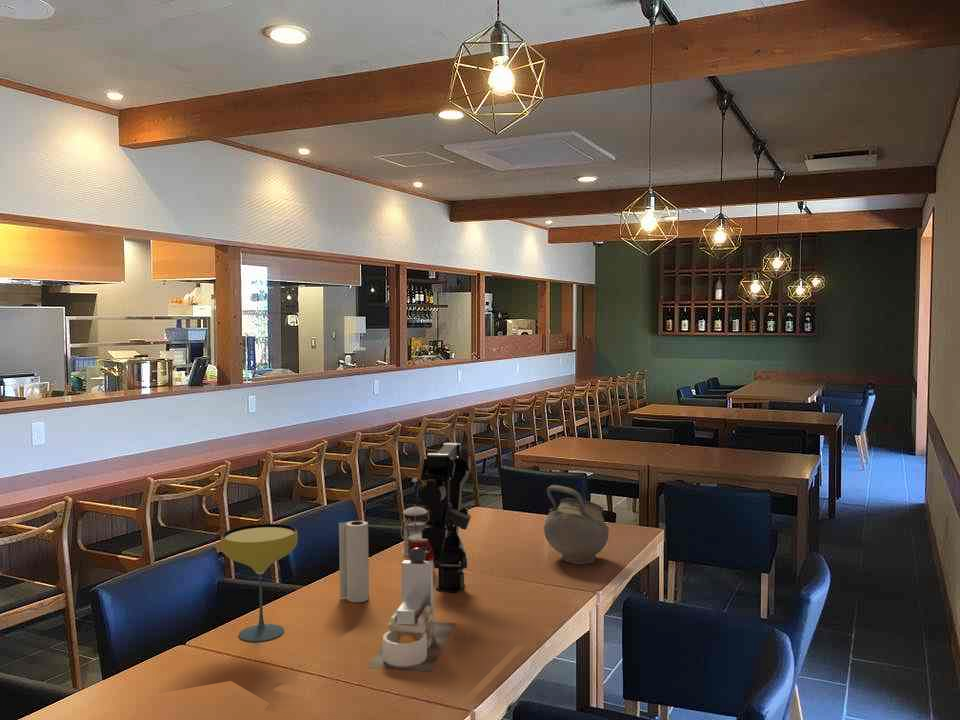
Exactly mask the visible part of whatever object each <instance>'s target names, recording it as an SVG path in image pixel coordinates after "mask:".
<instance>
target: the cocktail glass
mask: <svg viewBox="0 0 960 720" xmlns="http://www.w3.org/2000/svg"><path fill="white" fill-rule="evenodd" d="M298 540H299V539H298V531H297V528H295V527H294V526H292V525H287V524H282V523H259V524H258V523H257V524H249V525H244V526H238V527H234V528H231V529H228V530H227V531H225V532H223V533H222V534H221V538H220V548H221V551H222V553H223V554H224V556H226V557H227V558H229V559H230V560H232V561H234V562H237V563H239V564H243V565H246V566H248V567H250V568H251V569H252V570H253V571H254V572H255V574H257V575H258V582H259V583H258V586H259V589H258V591H259V593H258V594H259V597H258V598H259V615H258V616H259V618H258V624H256V625H251V626H248V627H245V628H244V629H242V630H240V631H239V633H238V638H239V639H241V640H242V641H244V642H250V643H261V641H263V642H268V641H271V640H272V641H273V640H274V639H277V638H279V637H281V636H282V635H283V634H284V633H285V628H284V627H283V626H282V625H278V624H273V623H272V624H271V623H265V620H264V612H263V611H264V610H263V609H264V608H263V606H264V605H263V580H262V579H263V574H264V573H266V571H267V569H268V568H269V567H270V566H271V565H272V564H274V563H275V562H277V561H280V560H281V559H283V558H285V557H287V556H288V555H289V554H291V553H292V552H293V550H295V548H296V547H297V544H298Z"/></svg>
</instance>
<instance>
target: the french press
mask: <svg viewBox="0 0 960 720" xmlns="http://www.w3.org/2000/svg"><path fill="white" fill-rule="evenodd" d="M411 482H412V483H414V485H416V483H417V482H418V478H417V477H413V478H412V479H411ZM402 514H403V515H405V516H411V517H412V516H413V517H414V520H413V521H412V520H411V518H407V517H405V518H403V520H402V522H401V527H400V537H401V538H402V539H403V549H402V551H401V552H400V554H401V555H402V556H404V555H405V557H408V537H409V536H410V535H413V534H420V533H422V530H423V529H424V528H425V527H426V526H427V522H426V521H421V520H418V521H417V520H416V517H417V516H422V515H425V514H428V509H426V508H424V507H421V506H416V505H414V506H411V507H408V508H406V509H405V510H403V511H402ZM407 519H408V520H407ZM404 521H405V523H404ZM403 524H404V528H403ZM402 528H403V529H402ZM402 530H403V534H402Z"/></svg>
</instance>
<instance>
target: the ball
mask: <svg viewBox="0 0 960 720" xmlns="http://www.w3.org/2000/svg"><path fill="white" fill-rule="evenodd" d="M411 642H415V639H414V637H413V636H411V635H408V634H407V635H403V636H402V637H401V638H400V639H399V641H398V643H411Z"/></svg>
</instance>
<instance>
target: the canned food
mask: <svg viewBox="0 0 960 720" xmlns="http://www.w3.org/2000/svg"><path fill="white" fill-rule="evenodd" d="M415 547H420V548H422V549H423V550H424V551H425V554H426V557H425V560H424V561H433V571H434V570H435V567H434V558H433V549H432V547H431V545H430V543H429V541H428V539H422V533H420V534H413V535H410V536H409V535H408V556H407V557H408V559H407V560H409V552H410V551H411V550H412V549H413V548H415Z"/></svg>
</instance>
